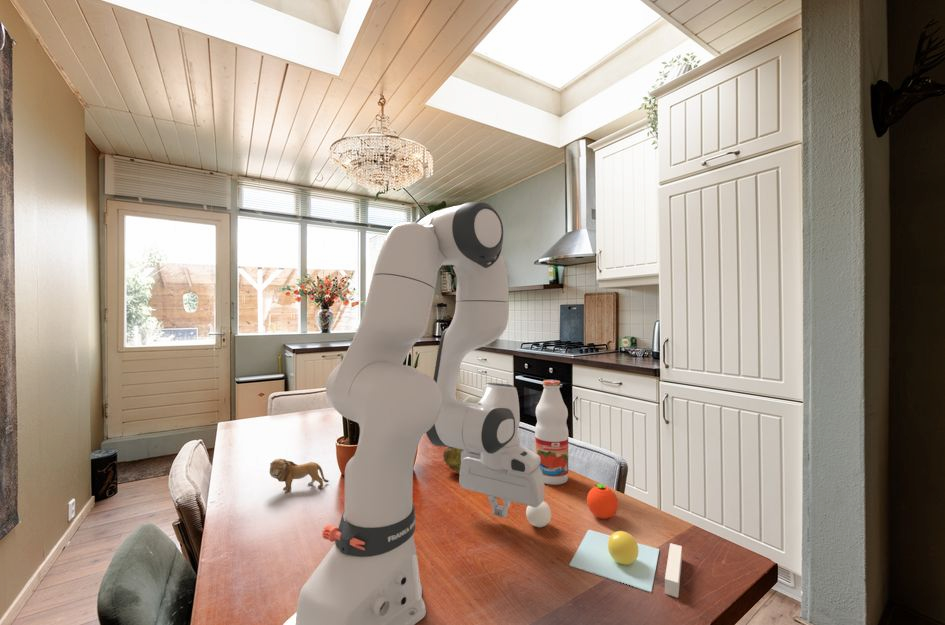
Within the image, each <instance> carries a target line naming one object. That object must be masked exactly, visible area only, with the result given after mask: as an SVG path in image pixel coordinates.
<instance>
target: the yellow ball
mask: <svg viewBox="0 0 945 625" xmlns="http://www.w3.org/2000/svg"><path fill="white" fill-rule="evenodd" d="M637 543H638V542H637V541H636V539H635V537H634V536H633V535H631V534H630V533H628V532H626V531H624V530H618V531H615V532H613V533H611V534H610V537H609V540H608V551H609V553H610V555H611V557H612V558H613V559H614V560H615V561H616V562H618V563H620V564H623V565H629V564H632V563H633V562H635V560H636V559H637V557H638V553H639V549H638V545H637Z"/></svg>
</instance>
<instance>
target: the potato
mask: <svg viewBox="0 0 945 625" xmlns="http://www.w3.org/2000/svg"><path fill="white" fill-rule="evenodd" d="M462 451H463V449H458V448H454V447H446V448H445V450H444V451H443V456H442V457H443V460H444V462H445V464H446V466H447V467H449V469H451V470H452V471H454V472H456V473H457V474H459V475H460V467H461V452H462Z"/></svg>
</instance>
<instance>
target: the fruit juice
mask: <svg viewBox="0 0 945 625" xmlns="http://www.w3.org/2000/svg"><path fill="white" fill-rule="evenodd" d="M542 387H543V390H542V393H541V396H540V399H539V401H538V403H537V405H536V407H535V416H536V421H537V422H536V424H535V429H534V439H535V440H534V453H536V454H538V455H539V456H540V458H541V461H540V464H539V466H538V467H539V468H540V469H541V471H542V473H543V478H544V485H549V486H550V485H551V486H558V485H563V484H565V483H567V482H568V479H569V429H568V424H567V420H568V417H569V412H568V408H567V405H566V404H565V402H564V399H563V396H562V393H561V391H560V388H561V381H560V380H557V379H544V380H543V382H542Z"/></svg>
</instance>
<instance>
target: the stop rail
mask: <svg viewBox="0 0 945 625" xmlns="http://www.w3.org/2000/svg"><path fill="white" fill-rule="evenodd" d="M682 552H683V547H682V545H678V544H676V543H675V544H674V543H671V542H670V543H669V549H668V556H667V561H666V562H667V563H666V569H665V574H664V594H665V595H668V596H671V597H673V598H676V599H677V598H679V593H680V584H681V582H680V581H681V573H682V572H681V571H682V561H683V553H682Z"/></svg>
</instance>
